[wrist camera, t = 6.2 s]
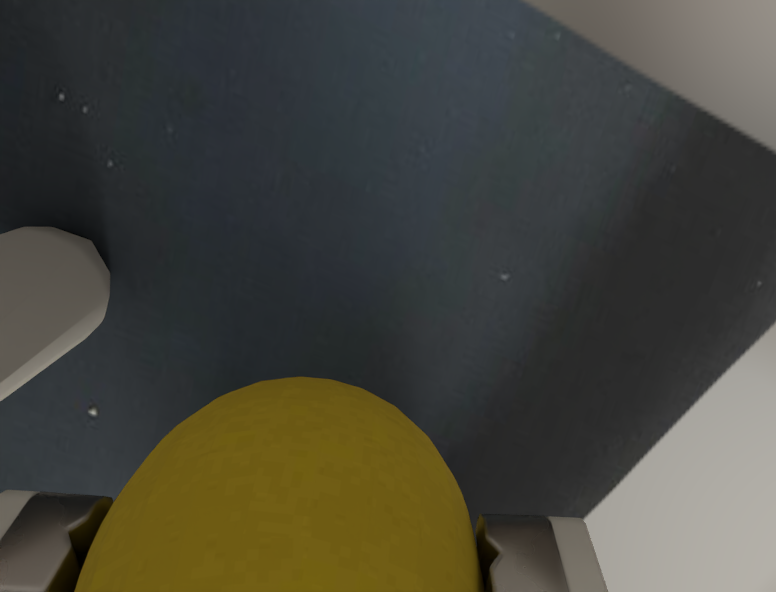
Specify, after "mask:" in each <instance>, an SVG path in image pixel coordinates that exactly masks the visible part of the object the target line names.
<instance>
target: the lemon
mask: <svg viewBox="0 0 776 592" xmlns="http://www.w3.org/2000/svg"><path fill="white" fill-rule="evenodd" d="M74 592H484V583H483V577H482V572H481V569H480V563H479V556H478V551H477V547H476V542H475V538H474V534H473V530H472V526H471V522H470V517H469V513H468V510H467V507H466V504H465V501H464V498H463V496H462V493H461V490H460V488H459V486H458V484H457V482H456V480H455V478H454V476H453V474H452V473H451V471H450V470H449V468H448V466H447V465H446V463H445V462H444V460H443V458H442V457H441V455H440V454H439V452H438V450H437V449H436V447H435V446H434V444H433V443H432V442H431V440H430V439H429V437H428V436H427V435H426V434H425V433H424V432H423V431H422V430H421V429H420V428H419V427H417V426H416V425H415V424H414V423H413V422H412V421H411V420H410V419H409V418H408V417H407V416H405V415H404V414H403V413H402V412H401V411H400V410H399V409H398V408H397V407H396V406H394V405H392V404H390V403H388V402H387V401H385V400H383V399H381V398H379V397H377V396H376V395H374V394H372V393H370V392H368V391H366V390H364V389H362V388H359V387H356V386H352V385H349V384H345V383H342V382H339V381H335V380H332V379H322V378H311V377H291V378H283V379H274V380H266V381H260V382H257V383H255V384H252V385H249V386H246V387H243V388H241V389H238V390H235V391H232V392H230V393H227V394H225V395H222V396H220V397H218V398H216V399H215V400H214V401H212V402H211V403H209V404H208V405H206V406H205V407H203V408H202V409H200V410H199V411H197V412H196V413H194V414H193V415H191V416H190V417H188V418H187V419H186V420H184V421H183V422H181V423H180V424H178V425H177V426H176V427H175V428H174V429H173V430H171V431H170V432H169V433H168V434H167V435H166V436H165V437H164V438H163V439H162V440H161V441H160V443H159V444H158V445H157V446H156V447H155V448H154V450H153V451H152V452H151V453H150V454H149V456H148V457H147V458H146V459H145V461H144V462H143V463H142V465H141V466H140V467H139V468H138V470H137V471H136V472H135V474H134V475H133V476H132V477H131V479H130V480H129V481H128V483H127V484H126V485H125V487H124V488H123V490H122V491H121V493H120V494H119V495H118V497H117V498H116V500H115V501H114V503H113V505H112V506H111V508H110V510H109V511H108V513H107V515H106V517H105V518H104V520H103V522H102V524H101V526H100V528H99V530H98V532H97V534H96V536H95V538H94V540H93V543H92V545H91V547H90V549H89V552H88V554H87V557H86V560H85V562H84V565H83V567H82V570H81V573H80V575H79V578H78V582H77V585H76V588H75V591H74Z"/></svg>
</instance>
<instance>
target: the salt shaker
mask: <svg viewBox="0 0 776 592" xmlns="http://www.w3.org/2000/svg"><path fill="white" fill-rule="evenodd" d="M109 295H110V272H109V270H108V269H107V267H106V265H105V263H104V262H103V260H102V258H101V257H100V255H99V253H98V251H97V250H96V248H95V246H94V244H93V243H92V241H91V240H88V239H86V238H83V237H80V236H77V235H74V234H71V233H68V232H65V231H63V230H60V229H57V228H54V227H22V228H18V229H15V230H12V231H9V232H6V233H3V234H0V401H2V400H3V399H4V398H6V397H7V396H8V395H10V394H11V393H12V392H14V391H15V390H16V389H18V388H19V387H21V386H22V385H23V384H25V383H26V382H27V381H29V380H30V379H31V378H33V377H34V376H35V375H37V374H38V373H40V372H41V371H42V370H44V369H45V368H46V367H48V366H49V365H50V364H52V363H53V362H54V361H56V360H57V359H58V358H60V357H61V356H63V355H64V354H65V353H67V352H68V351H69V350H71V349H72V348H73V347H75V346H76V345H77V344H79V343H80V342H82V341H83V340H84V339H86V338H87V337H88V336H89V335H90V334H91V333H92V332H93V331H94V330H95V329H96V328H97V327H98V326H99V325H100V324H101V323H102V321H103V319H104V317H105V313H106V309H107V304H108V300H109Z"/></svg>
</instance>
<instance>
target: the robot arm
mask: <svg viewBox="0 0 776 592" xmlns="http://www.w3.org/2000/svg"><path fill="white" fill-rule="evenodd" d="M112 505H113V500H112V498H111V497H105V496H93V495H80V494H66V493H53V492H36V491H20V490H5V491H4V492H2V493H1V494H0V592H74V591H75V588H76V585H77V582H78V578H79V575H80V573H81V570H82V567H83V565H84V562H85V560H86V557H87V554H88V552H89V549H90V547H91V545H92V543H93V540H94V538H95V536H96V534H97V532H98V530H99V528H100V526H101V524H102V522H103V520H104V518H105V517H106V515H107V513H108V511H109V510H110V508H111V506H112ZM476 538H477V551H478V556H479V563H480V569H481V572H482V577H483V583H484V592H608V590H607V587H606V584H605V581H604V578H603V575H602V572H601V569H600V566H599V563H598V560H597V557H596V553H595V551H594V547H593V544H592V541H591V538H590V535H589V532H588V529H587V526H586V524H585V522H584V521H583V520H582V519H581V518H571V517H550V516H547V517H545V516H538V515H509V514H481V513H480V515H479V517H478V520H477V525H476Z"/></svg>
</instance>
